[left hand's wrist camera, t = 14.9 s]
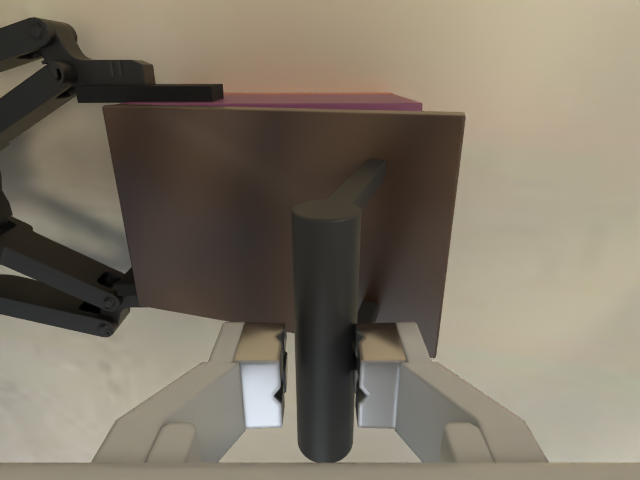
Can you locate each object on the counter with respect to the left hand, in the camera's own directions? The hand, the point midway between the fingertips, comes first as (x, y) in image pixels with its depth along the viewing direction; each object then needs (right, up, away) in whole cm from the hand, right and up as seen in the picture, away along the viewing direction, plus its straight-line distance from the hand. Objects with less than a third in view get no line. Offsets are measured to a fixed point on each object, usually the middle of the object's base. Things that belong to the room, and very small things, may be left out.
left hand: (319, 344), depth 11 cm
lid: (-2, +3, +9) cm, 9 cm away
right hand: (-5, +5, +13) cm, 15 cm away
